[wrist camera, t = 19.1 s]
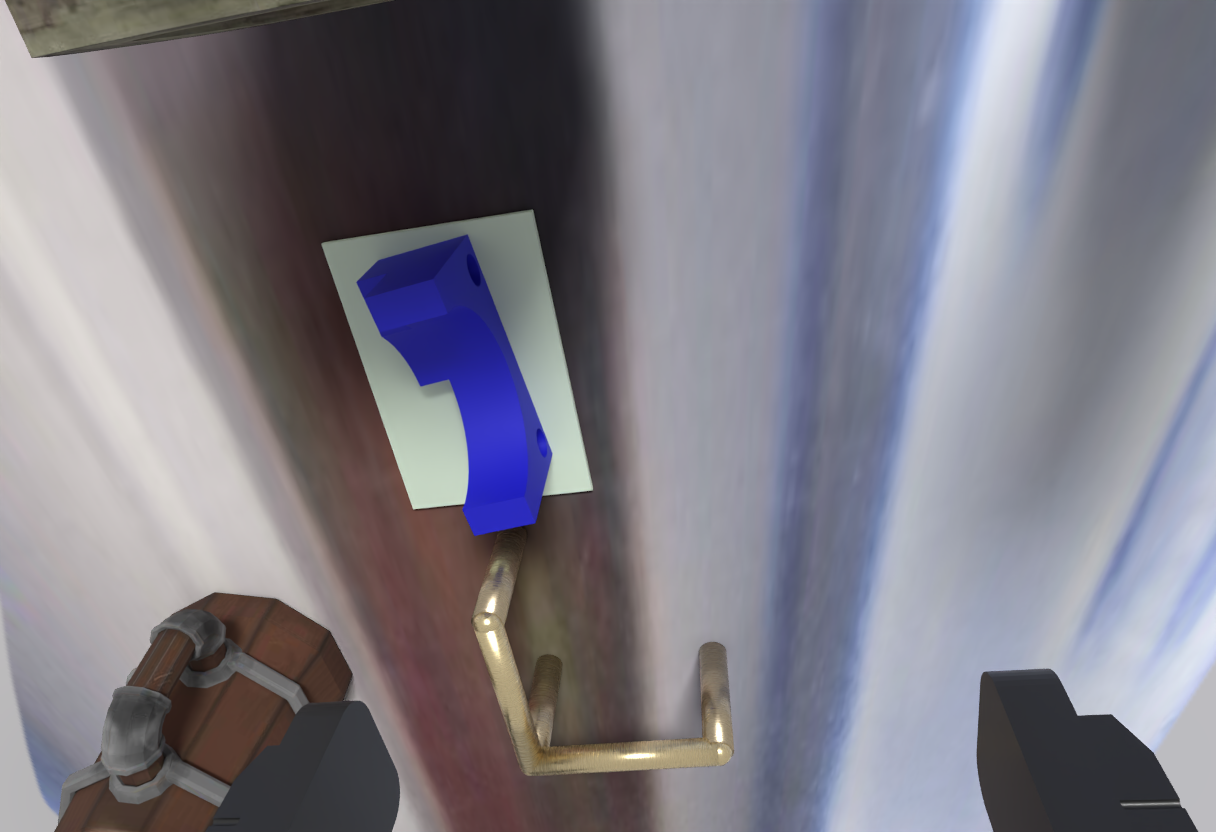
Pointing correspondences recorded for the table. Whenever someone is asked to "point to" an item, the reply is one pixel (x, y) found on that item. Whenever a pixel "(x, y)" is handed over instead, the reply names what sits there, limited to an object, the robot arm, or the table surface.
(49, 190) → the table surface
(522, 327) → the pad
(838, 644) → the table surface
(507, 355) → the cable clip
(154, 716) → the mug
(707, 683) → the wire track
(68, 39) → the tabletop clock
